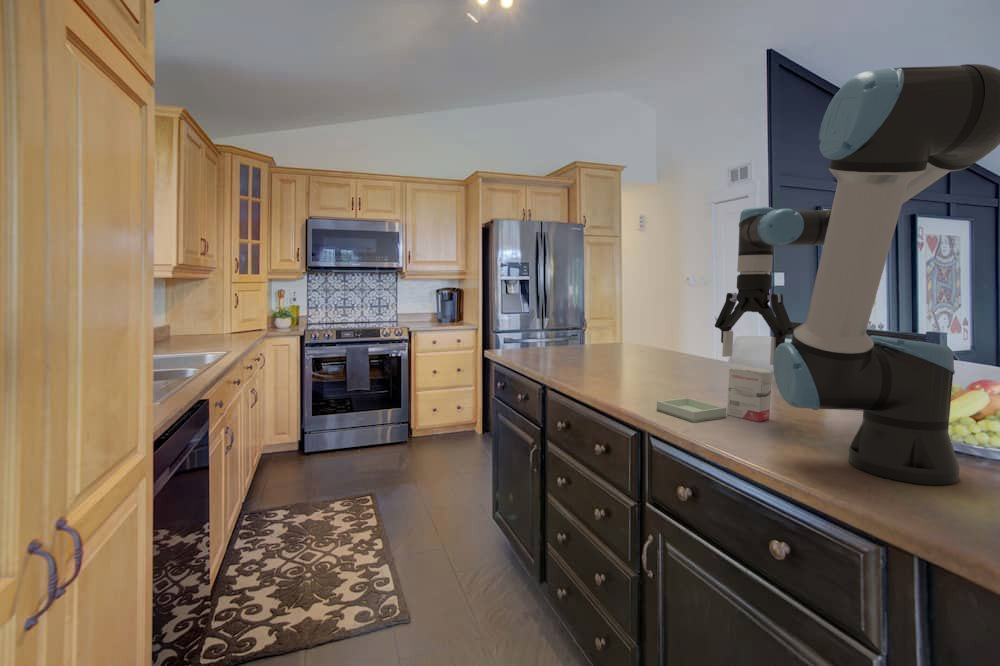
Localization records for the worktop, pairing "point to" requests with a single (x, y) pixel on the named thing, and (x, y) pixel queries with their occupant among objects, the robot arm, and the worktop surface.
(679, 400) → the pale green tray
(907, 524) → the worktop surface
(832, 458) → the worktop surface
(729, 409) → the ink box
